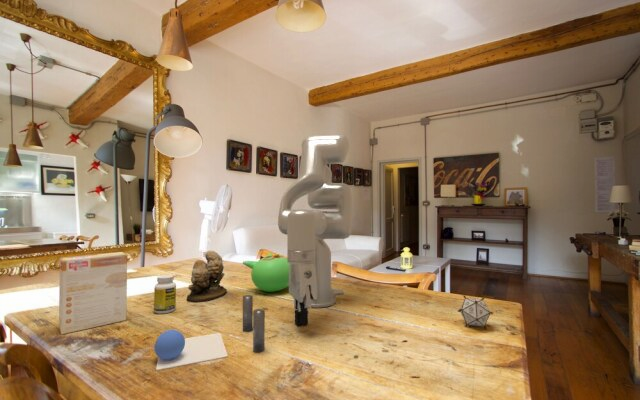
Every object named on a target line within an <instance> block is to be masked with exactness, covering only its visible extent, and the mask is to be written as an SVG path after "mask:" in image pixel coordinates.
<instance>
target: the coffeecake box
mask: <svg viewBox="0 0 640 400" xmlns="http://www.w3.org/2000/svg"><path fill="white" fill-rule="evenodd" d="M127 273H128V254H127V253H125V252H123V251H117V252H108V253H97V254H96V253H95V254H86V255H76V256H75V255H74V256H63V257H60V259H59V289H58V290H59V291H58V292H59V298H58V299H59V301H58V302H59V303H58V305H59V308H58V315H59V316H58V329H59V331H60V334H61V335H65V334H71V333H76V332H78V331H83V330H87V329H92V328H96V327H101V326H106V325H110V324H114V323H119V322H124V321H127V316H128V315H127V314H128V313H127V311H128V310H127V308H128V307H127V306H128V304H127V299H128V297H127V296H128V295H127V293H128V292H127V290H128V280H127V279H128V275H127Z"/></svg>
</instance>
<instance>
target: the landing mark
mask: <svg viewBox="0 0 640 400" xmlns="http://www.w3.org/2000/svg"><path fill="white" fill-rule="evenodd" d="M184 338H185V337H184ZM228 357H229V356H228V353H227V349H226V347H225V344H224V340H223V337H222V334H221V332H217V333H212V334H211V333H210V334H205V335H198V336H192V337H187V338H185V346H184V349H183V351H182V352H181V354H180V355H179V356H177V357H176V358H174V359H171V360H163V359H161V358H159V357H158V356H157V362H156V363H157V364H156V369H155V370H156V371H161V370H162V371H163V370H167V369H171V368H172V369H173V368H176V367H181V366H187V365H188V366H189V365H192V364H193V365H194V364H199V363H204V362H209V361H213V360H214V361H215V360H219V359H225V358H228Z"/></svg>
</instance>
